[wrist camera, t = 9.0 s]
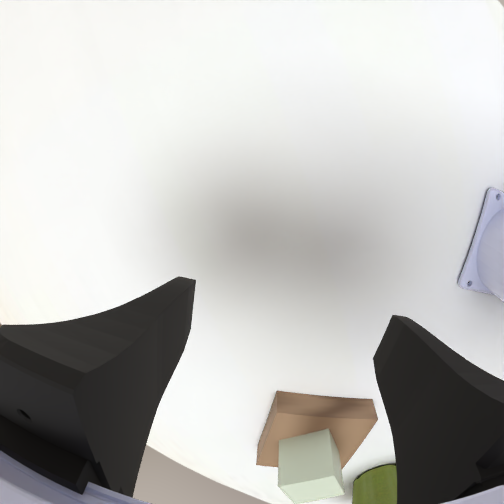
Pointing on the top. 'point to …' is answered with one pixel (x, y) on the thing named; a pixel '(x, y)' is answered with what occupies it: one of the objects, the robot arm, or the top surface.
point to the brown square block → (316, 423)
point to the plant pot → (376, 486)
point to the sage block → (310, 467)
